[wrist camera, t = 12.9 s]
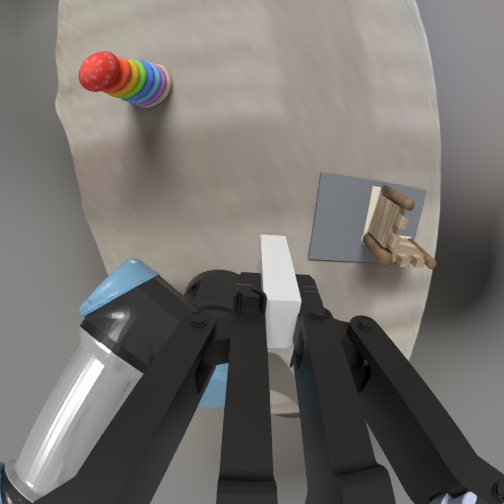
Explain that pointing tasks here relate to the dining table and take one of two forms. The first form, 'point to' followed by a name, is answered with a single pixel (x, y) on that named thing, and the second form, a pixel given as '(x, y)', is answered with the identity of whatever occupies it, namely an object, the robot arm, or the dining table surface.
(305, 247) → the dining table surface
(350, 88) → the dining table surface
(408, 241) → the fixed fence section
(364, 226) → the card
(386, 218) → the hinged fence panel
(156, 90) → the stacking toy
